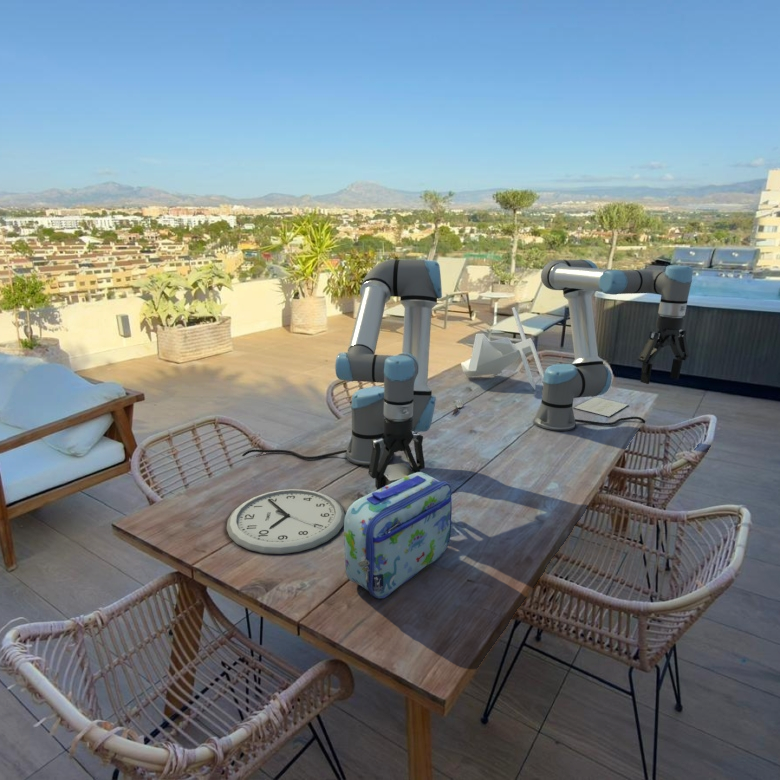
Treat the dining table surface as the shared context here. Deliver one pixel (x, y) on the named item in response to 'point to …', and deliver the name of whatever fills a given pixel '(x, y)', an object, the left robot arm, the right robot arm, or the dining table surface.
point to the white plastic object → (500, 355)
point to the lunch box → (397, 532)
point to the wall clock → (285, 521)
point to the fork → (458, 407)
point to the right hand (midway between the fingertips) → (659, 380)
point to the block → (396, 472)
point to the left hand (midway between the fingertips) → (396, 496)
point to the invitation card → (601, 406)
